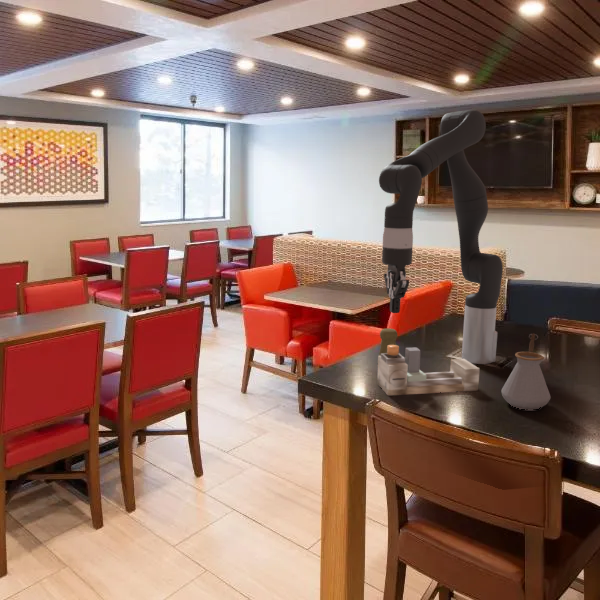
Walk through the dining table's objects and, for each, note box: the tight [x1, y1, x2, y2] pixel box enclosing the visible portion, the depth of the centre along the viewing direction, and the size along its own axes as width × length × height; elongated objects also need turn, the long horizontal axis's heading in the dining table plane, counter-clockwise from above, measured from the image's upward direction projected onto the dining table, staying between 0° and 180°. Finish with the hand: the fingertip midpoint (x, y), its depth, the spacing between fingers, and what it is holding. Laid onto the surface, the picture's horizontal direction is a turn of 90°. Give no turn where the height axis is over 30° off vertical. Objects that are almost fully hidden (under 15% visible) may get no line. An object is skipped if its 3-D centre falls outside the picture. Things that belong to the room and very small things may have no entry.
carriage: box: [404, 346, 427, 382], centre depth 158 cm, size 5×8×8 cm, turn 10°
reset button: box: [387, 344, 400, 355], centre depth 157 cm, size 3×3×2 cm
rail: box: [376, 352, 480, 396], centre depth 159 cm, size 25×10×9 cm, turn 101°
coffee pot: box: [501, 332, 552, 411], centre depth 152 cm, size 21×12×15 cm, turn 155°
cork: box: [378, 327, 398, 356], centre depth 179 cm, size 6×6×11 cm
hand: (394, 312), depth 155 cm, fingers closed
